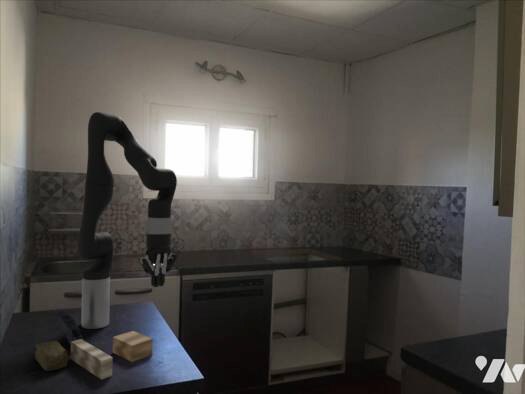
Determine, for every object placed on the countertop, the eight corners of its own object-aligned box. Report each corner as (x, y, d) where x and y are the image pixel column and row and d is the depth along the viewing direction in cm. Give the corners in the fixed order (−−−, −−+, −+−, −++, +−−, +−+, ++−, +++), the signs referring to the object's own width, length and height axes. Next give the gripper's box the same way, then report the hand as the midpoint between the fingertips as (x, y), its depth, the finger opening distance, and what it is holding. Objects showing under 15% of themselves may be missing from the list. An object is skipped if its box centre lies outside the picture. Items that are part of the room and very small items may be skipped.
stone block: (45, 374, 108) (46, 355, 108) (33, 360, 117) (33, 343, 116) (68, 368, 112) (68, 350, 112) (55, 354, 121) (55, 338, 120)
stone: (93, 344, 128) (93, 313, 128) (77, 351, 123) (77, 319, 122) (62, 337, 134) (62, 307, 133) (45, 343, 128) (45, 312, 128)
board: (70, 358, 118) (70, 341, 117) (80, 355, 120) (81, 339, 120) (101, 379, 106) (101, 360, 106) (112, 375, 108) (112, 357, 108)
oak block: (112, 353, 123) (113, 336, 123) (132, 346, 128) (133, 330, 128) (132, 362, 117) (132, 345, 117) (152, 355, 122) (152, 338, 122)
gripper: (169, 229, 136) (168, 280, 136) (133, 232, 125) (132, 287, 126) (183, 231, 131) (182, 284, 131) (147, 234, 120) (145, 292, 121)
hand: (157, 286), depth 128 cm, fingers closed
